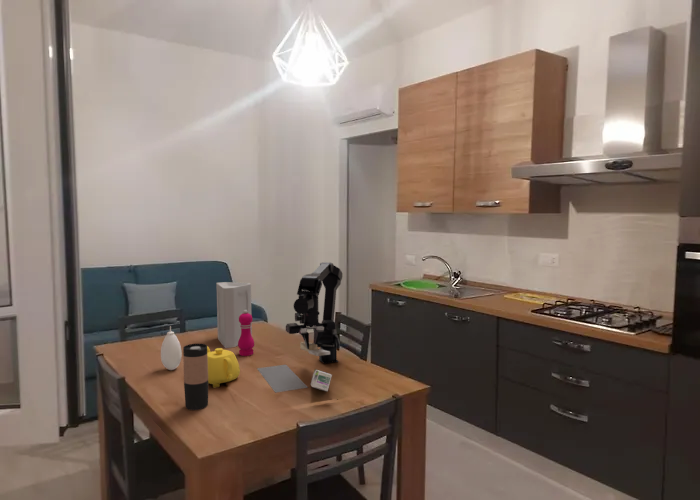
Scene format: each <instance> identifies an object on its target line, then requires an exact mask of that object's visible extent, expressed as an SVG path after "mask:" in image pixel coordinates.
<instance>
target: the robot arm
mask: <svg viewBox="0 0 700 500" xmlns="http://www.w3.org/2000/svg"><path fill="white" fill-rule="evenodd" d="M342 280H343V272H342V270H341V268H339V267H338V266H336V265H335V264H334V263H332V262H330V261H329V262H326V261H324V262H320V263H319V265H318V266H317V267H316V269H315V270H314V271H312V273H308V274H304V275H303V276H302V277H301V278H300V281H299V284H298V287H297V293H296V295H297V296H298V298H297V299H296V300H295V301H294V303H293V309H294V311H295V313H294V321H295V322H292V323H286V325H285V332H287V333H288V334H289V335H295V334H299V335H301V337H302V338H303V342H305V345H306V347H307V349H309V343H310V333H309V332H308V330H312V329H313V330H312V331H313V342H312V343H313V344H317V348H319V349H323V350H326V351H330V355H322V356H318V360H319V361H320V362H321V363H323V364H325V365H326V364H330V363H338V362H339V360H338V359H337V351H338V350H337V349H339V348H340V344H341V343H340V341H341V340H340V339H339V336H338V333H337V324H336V322H335V310H336V299H337V290H338V288H339V287H340V285H341V284H342ZM322 287H324V289H325V290H324V292H325V293H324V301H323V314H322V321H321V322H319V316H320V311H319V295H320V293H321V290H322V289H321V288H322ZM296 322H299V324H298V323H296Z"/></svg>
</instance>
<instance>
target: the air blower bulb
mask: <svg viewBox="0 0 700 500" xmlns="http://www.w3.org/2000/svg"><path fill="white" fill-rule="evenodd" d="M182 352H183V350H182V346H181V342H180V341H179V339H178V336H177V335H176V334H175V332H174V331H172V326H171V325H170V326H169V331H168V332H167V333H166V335H165V337H164V339H163V340H162V344H161V347H160V360H161V363H162V365H163V366H164V368H166V369H167V370H169V371H174V370H175V369H177V367H179V366H180V363H181V362H182V357H183V356H182V355H183V353H182Z"/></svg>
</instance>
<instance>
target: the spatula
mask: <svg viewBox="0 0 700 500" xmlns="http://www.w3.org/2000/svg"><path fill="white" fill-rule="evenodd" d="M299 344H300V346H299V347H300V350H302V351H305V352H308V354H310V355H313V356H316V357H319V356H322V355H330V351H326V350H323V349H320V348H319V347H317V344H313V342H309V349H307V347H306V345H305V342H304V341H300V343H299ZM318 348H319V349H318Z"/></svg>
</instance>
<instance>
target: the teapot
mask: <svg viewBox="0 0 700 500" xmlns="http://www.w3.org/2000/svg"><path fill="white" fill-rule="evenodd" d="M207 357H208V385H209V384H210V385H212V388H215V389H216V387H217V388H220V386H221V384H223V383H229V382H231V381H234V380H237V378H238V377H239V375H240V373H241V371H240V364H239V361H238V359H237V357H236V355H235V353H234V352H233V351H231V350H228V349H224V348H222V347H217V348H215V349H214V351H213V350H212V351H211V349H210V347H209V346H208V345H207Z"/></svg>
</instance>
